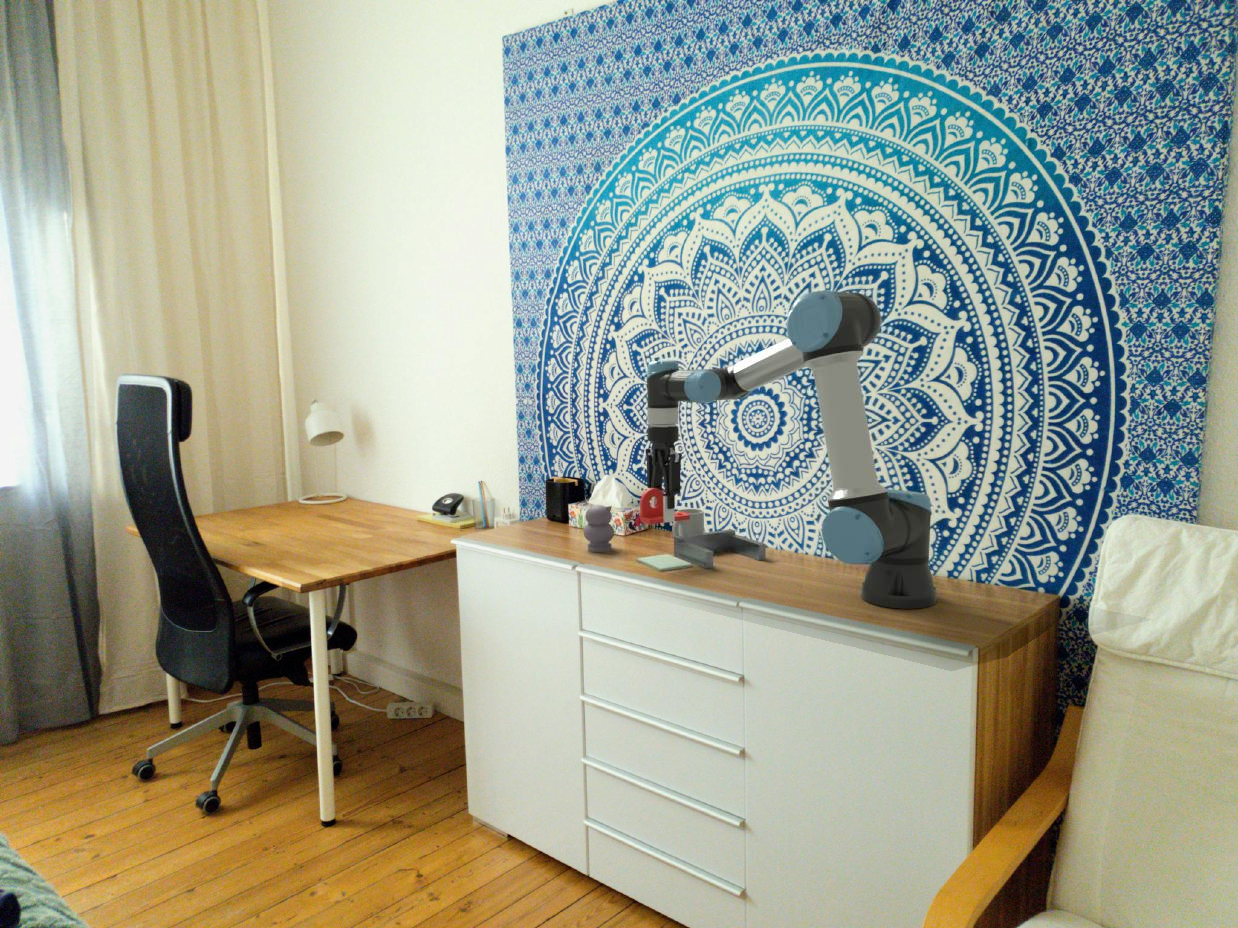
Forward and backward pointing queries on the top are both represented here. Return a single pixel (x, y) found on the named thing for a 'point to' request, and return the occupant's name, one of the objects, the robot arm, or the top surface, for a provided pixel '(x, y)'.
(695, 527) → the cup
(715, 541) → the grey u-shaped frame
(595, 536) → the cat figurine
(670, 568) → the mat
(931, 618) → the top surface
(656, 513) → the bracket
